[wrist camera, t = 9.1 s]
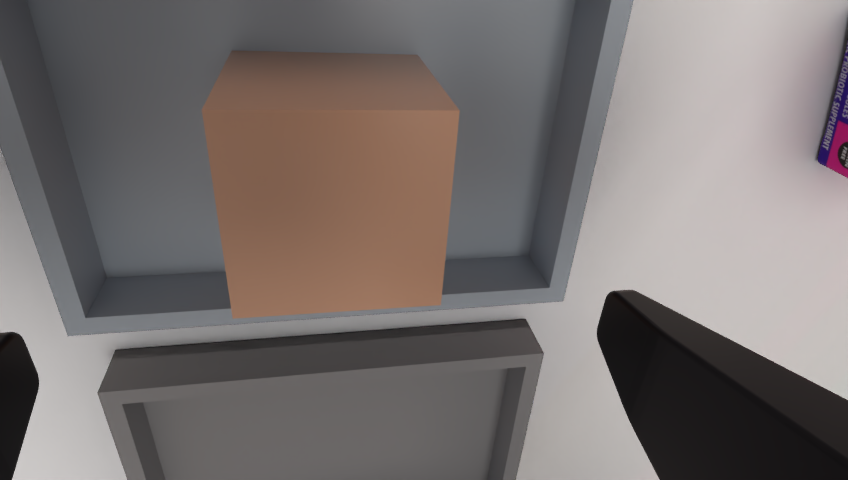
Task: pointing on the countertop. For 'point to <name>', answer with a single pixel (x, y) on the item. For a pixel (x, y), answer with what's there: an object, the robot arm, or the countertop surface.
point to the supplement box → (837, 127)
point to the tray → (188, 155)
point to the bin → (328, 405)
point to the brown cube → (330, 180)
